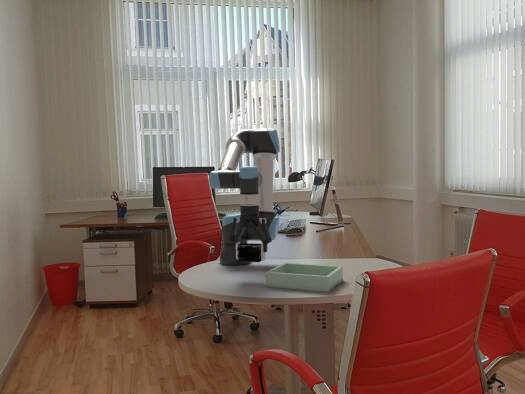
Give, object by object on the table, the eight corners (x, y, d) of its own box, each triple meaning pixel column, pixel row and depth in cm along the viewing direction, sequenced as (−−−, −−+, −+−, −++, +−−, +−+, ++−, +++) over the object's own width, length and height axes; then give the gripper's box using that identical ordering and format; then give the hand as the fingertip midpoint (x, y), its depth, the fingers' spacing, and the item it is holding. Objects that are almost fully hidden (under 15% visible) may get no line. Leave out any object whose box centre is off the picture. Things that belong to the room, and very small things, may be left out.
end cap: (265, 258, 206) (264, 242, 206) (260, 262, 199) (260, 245, 199) (241, 258, 209) (241, 241, 208) (236, 261, 202) (236, 245, 201)
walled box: (265, 286, 190) (265, 272, 190) (284, 275, 209) (284, 262, 209) (328, 292, 181) (328, 276, 181) (342, 280, 200) (342, 266, 199)
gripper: (219, 205, 203) (221, 259, 205) (272, 206, 194) (273, 263, 196) (228, 203, 210) (229, 256, 212) (279, 204, 201) (280, 259, 203)
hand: (250, 259), depth 204 cm, fingers closed on end cap, 10 cm apart
